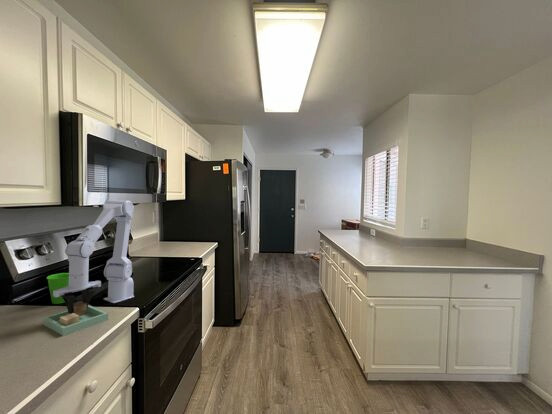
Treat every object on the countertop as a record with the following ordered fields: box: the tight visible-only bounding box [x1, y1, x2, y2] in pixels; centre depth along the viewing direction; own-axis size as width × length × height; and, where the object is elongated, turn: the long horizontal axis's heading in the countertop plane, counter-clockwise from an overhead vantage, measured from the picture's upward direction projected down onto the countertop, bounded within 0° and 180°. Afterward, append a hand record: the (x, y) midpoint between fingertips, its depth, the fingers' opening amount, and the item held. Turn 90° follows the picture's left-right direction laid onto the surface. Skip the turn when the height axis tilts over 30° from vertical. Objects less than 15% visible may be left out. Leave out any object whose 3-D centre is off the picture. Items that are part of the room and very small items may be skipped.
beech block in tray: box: [60, 313, 79, 326], centre depth 90 cm, size 4×4×4 cm
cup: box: [46, 272, 69, 305], centre depth 113 cm, size 9×9×11 cm
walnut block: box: [68, 300, 87, 316], centre depth 98 cm, size 4×4×4 cm
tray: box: [42, 304, 109, 337], centre depth 95 cm, size 14×14×3 cm
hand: (77, 310), depth 97 cm, fingers closed on walnut block, 4 cm apart
